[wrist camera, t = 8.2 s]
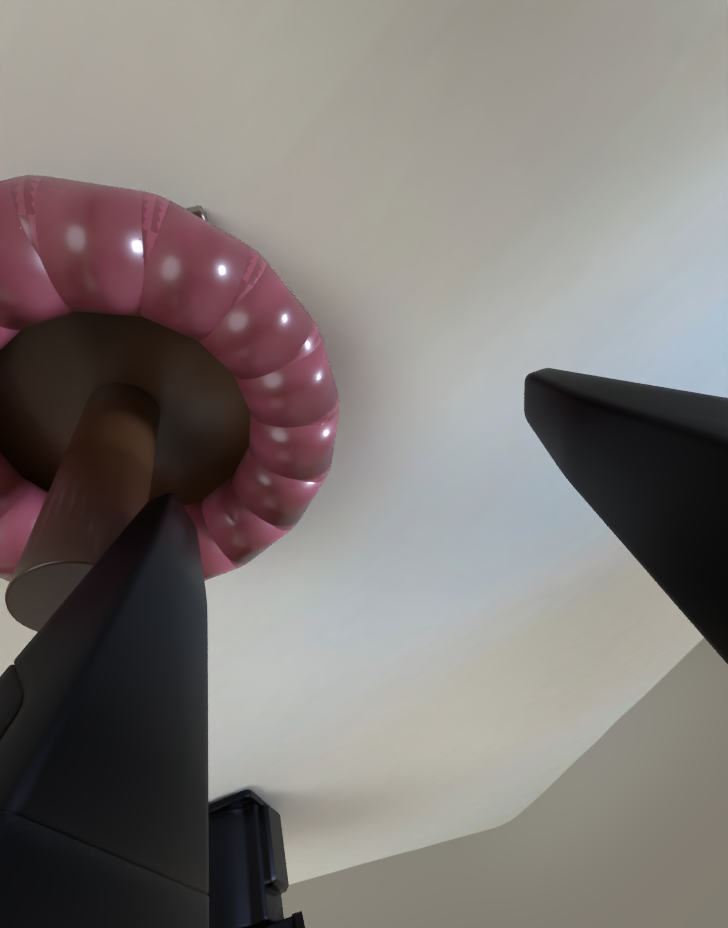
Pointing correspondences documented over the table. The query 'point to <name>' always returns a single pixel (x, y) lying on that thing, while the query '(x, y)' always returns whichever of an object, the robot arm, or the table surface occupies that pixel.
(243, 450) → the stand
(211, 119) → the table surface
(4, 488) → the ring
